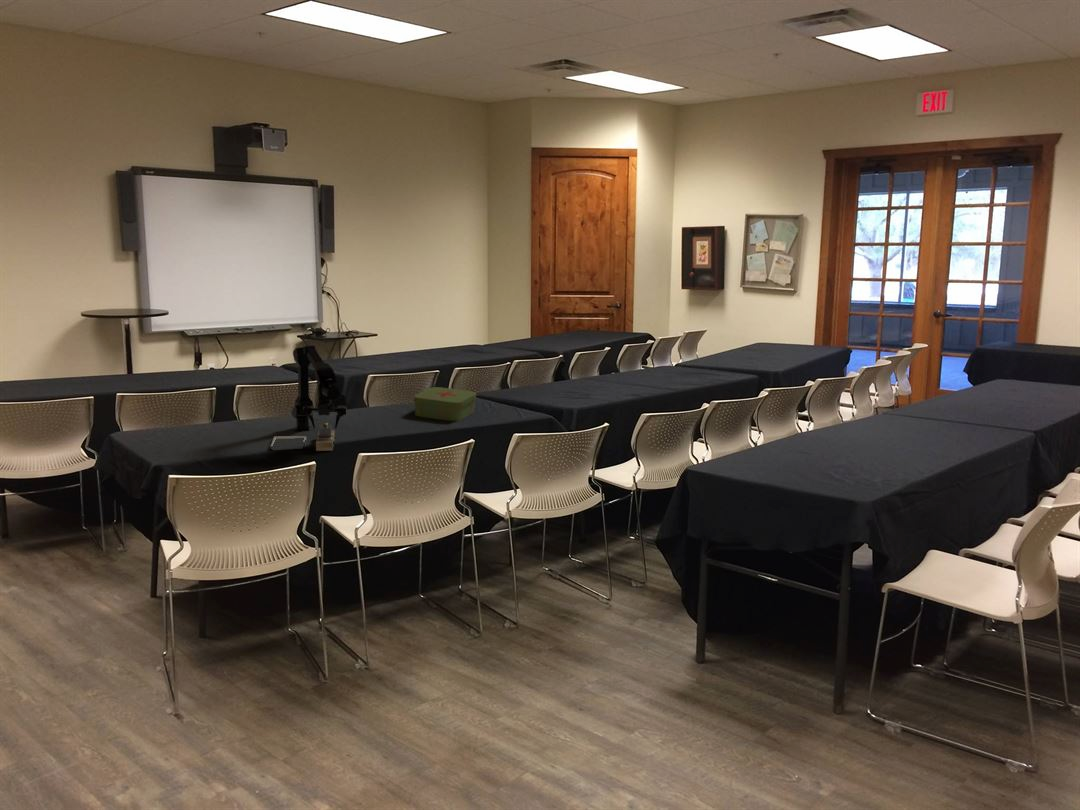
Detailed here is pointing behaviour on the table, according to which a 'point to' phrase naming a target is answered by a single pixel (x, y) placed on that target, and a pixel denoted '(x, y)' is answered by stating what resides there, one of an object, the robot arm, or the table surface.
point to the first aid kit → (444, 403)
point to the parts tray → (287, 438)
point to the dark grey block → (325, 430)
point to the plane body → (325, 443)
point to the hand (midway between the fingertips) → (325, 428)
